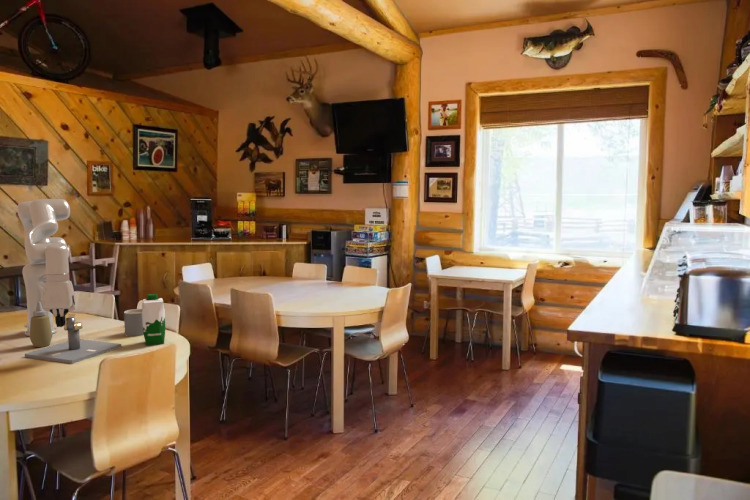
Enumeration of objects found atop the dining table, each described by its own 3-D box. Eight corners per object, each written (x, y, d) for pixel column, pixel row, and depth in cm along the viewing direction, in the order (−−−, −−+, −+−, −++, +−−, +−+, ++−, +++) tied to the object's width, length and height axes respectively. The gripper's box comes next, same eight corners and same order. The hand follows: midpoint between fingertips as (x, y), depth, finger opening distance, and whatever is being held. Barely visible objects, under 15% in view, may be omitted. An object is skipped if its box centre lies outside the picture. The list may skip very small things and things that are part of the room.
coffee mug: (127, 337, 251) (126, 314, 250) (122, 332, 260) (121, 310, 259) (159, 333, 259) (158, 311, 258) (154, 328, 267) (153, 307, 266)
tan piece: (61, 336, 217) (60, 319, 216) (64, 327, 230) (64, 311, 229) (80, 334, 219) (79, 317, 219) (83, 326, 233) (82, 310, 232)
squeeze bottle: (57, 344, 241) (55, 301, 239) (40, 349, 233) (37, 305, 231) (42, 342, 243) (40, 299, 241) (25, 347, 236) (22, 303, 234)
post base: (24, 356, 222) (23, 333, 221) (76, 341, 245) (75, 320, 244) (72, 363, 214) (71, 339, 213) (121, 346, 236) (120, 325, 236)
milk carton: (165, 338, 249) (163, 292, 247) (166, 344, 241) (164, 296, 238) (143, 341, 245) (140, 294, 243) (143, 346, 237) (141, 298, 235)
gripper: (32, 279, 213) (35, 328, 215) (74, 279, 214) (76, 328, 216) (42, 276, 220) (45, 324, 222) (83, 276, 221) (85, 323, 223)
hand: (60, 326), depth 219 cm, fingers closed
